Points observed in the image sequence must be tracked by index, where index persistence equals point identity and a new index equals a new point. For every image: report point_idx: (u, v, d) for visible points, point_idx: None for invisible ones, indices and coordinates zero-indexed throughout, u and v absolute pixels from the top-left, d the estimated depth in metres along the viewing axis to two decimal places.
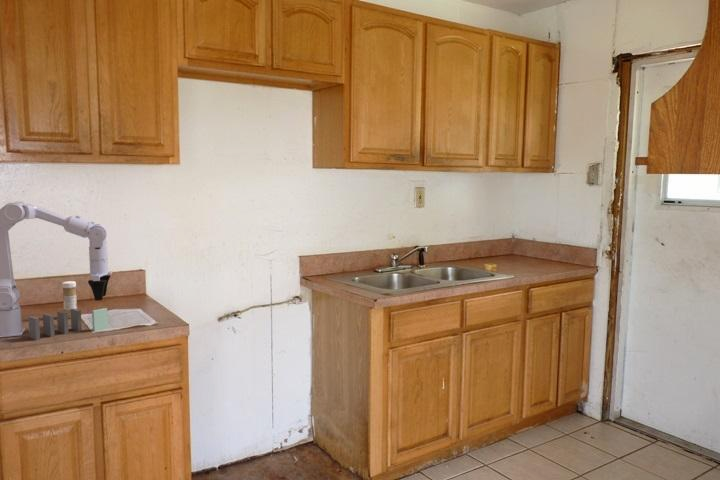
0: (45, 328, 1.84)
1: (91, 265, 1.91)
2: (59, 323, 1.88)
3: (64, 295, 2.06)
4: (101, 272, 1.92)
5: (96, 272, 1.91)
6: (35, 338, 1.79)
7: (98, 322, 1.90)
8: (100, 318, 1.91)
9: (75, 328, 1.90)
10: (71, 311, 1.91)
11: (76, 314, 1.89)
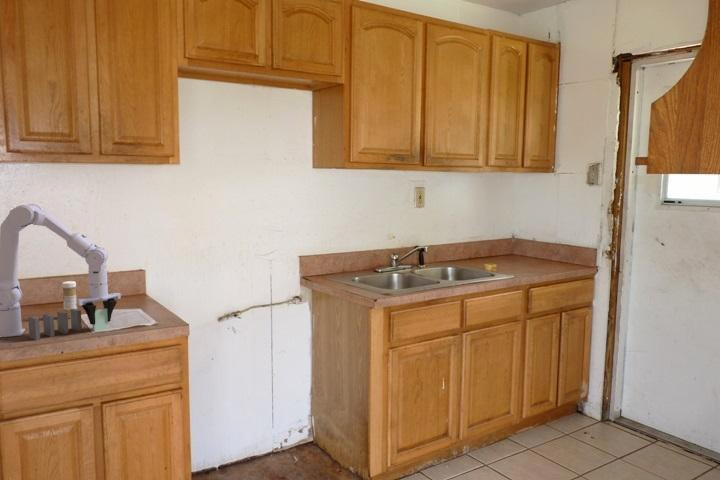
0: (45, 328, 1.84)
1: None
2: (59, 323, 1.88)
3: (64, 295, 2.06)
4: (93, 297, 1.88)
5: (90, 296, 1.88)
6: (35, 338, 1.79)
7: (98, 321, 1.90)
8: (100, 318, 1.91)
9: (75, 328, 1.90)
10: (71, 311, 1.91)
11: (76, 314, 1.89)
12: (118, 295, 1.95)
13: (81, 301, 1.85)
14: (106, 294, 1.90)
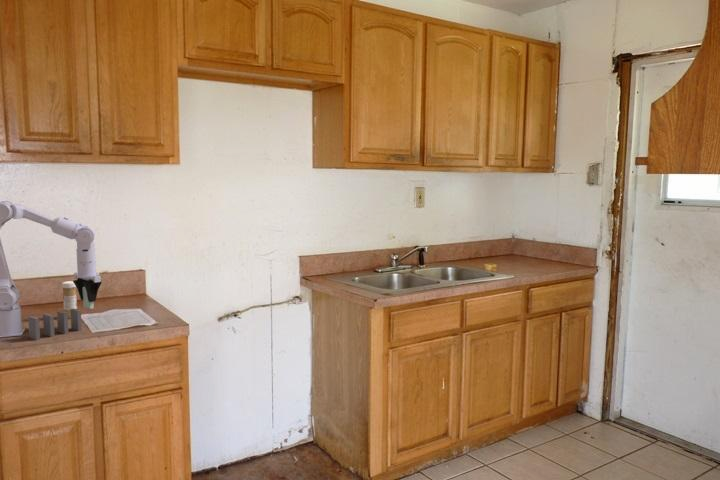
0: (45, 328, 1.84)
1: (83, 268, 1.90)
2: (59, 323, 1.88)
3: (64, 295, 2.06)
4: (93, 274, 1.92)
5: (89, 274, 1.91)
6: (35, 338, 1.79)
7: None
8: None
9: (75, 328, 1.90)
10: (71, 311, 1.91)
11: (76, 314, 1.89)
12: None
13: None
14: None
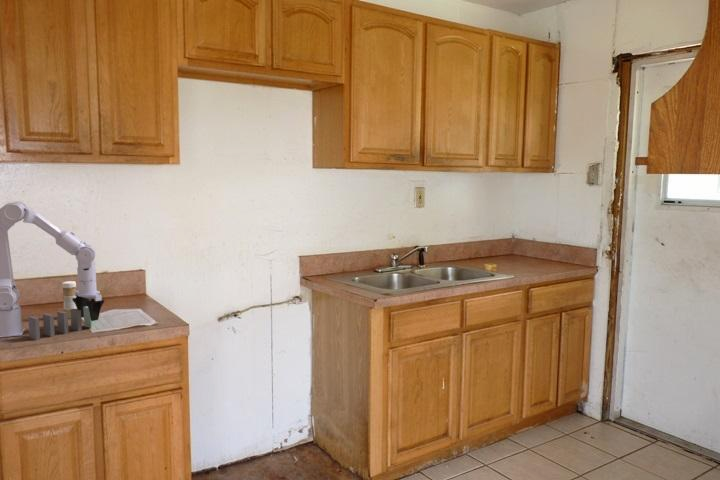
0: (45, 328, 1.84)
1: (84, 286, 1.91)
2: (59, 323, 1.88)
3: (64, 295, 2.06)
4: (94, 292, 1.93)
5: (90, 293, 1.92)
6: (35, 338, 1.79)
7: None
8: None
9: (75, 328, 1.90)
10: (71, 311, 1.91)
11: (76, 314, 1.89)
12: None
13: None
14: None
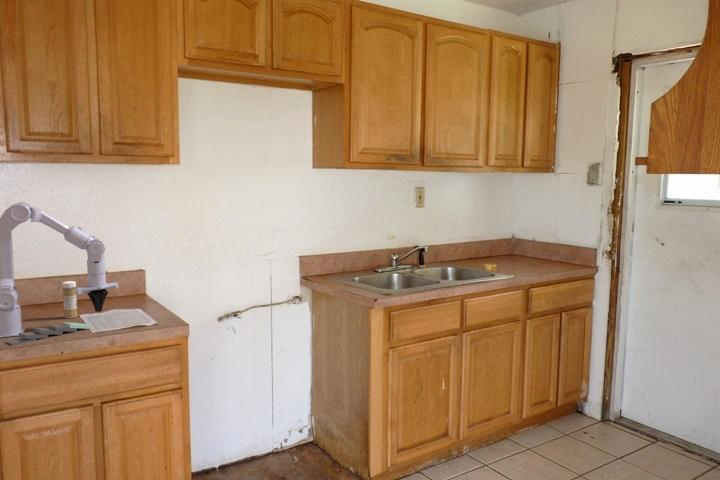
0: None
1: None
2: None
3: (64, 295, 2.06)
4: (91, 286, 1.94)
5: (88, 285, 1.94)
6: None
7: (79, 324, 1.91)
8: (75, 323, 1.91)
9: None
10: None
11: (58, 330, 1.85)
12: (116, 285, 2.01)
13: (80, 290, 1.91)
14: (104, 283, 1.96)
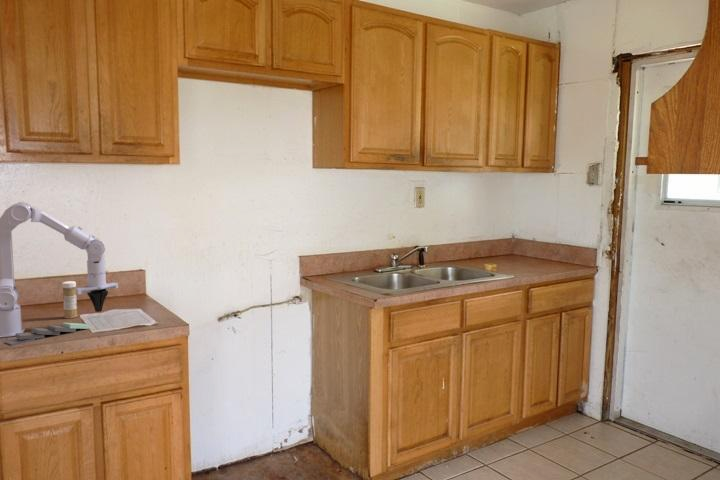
0: None
1: None
2: None
3: (64, 295, 2.06)
4: (91, 286, 1.94)
5: (88, 285, 1.94)
6: None
7: (79, 324, 1.91)
8: (75, 324, 1.90)
9: None
10: (50, 329, 1.85)
11: None
12: (116, 285, 2.01)
13: (80, 290, 1.91)
14: (104, 283, 1.96)
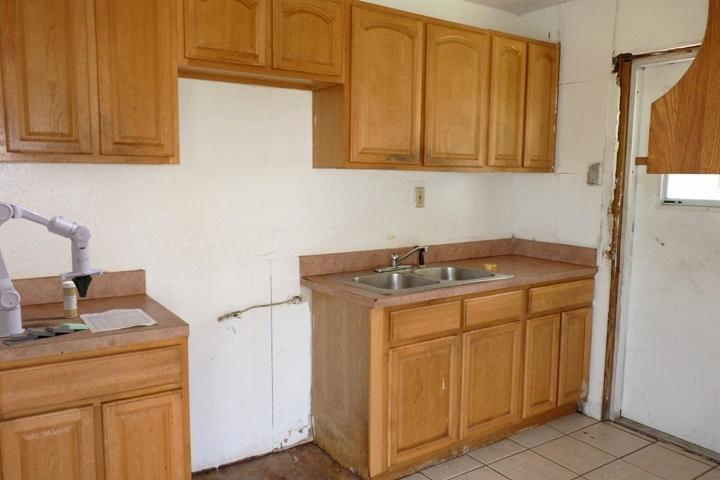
0: None
1: None
2: None
3: (64, 295, 2.06)
4: (75, 272, 1.96)
5: (72, 271, 1.97)
6: None
7: (78, 324, 1.91)
8: (74, 324, 1.90)
9: None
10: None
11: (55, 331, 1.83)
12: (100, 271, 2.03)
13: (64, 275, 1.93)
14: (88, 269, 1.98)
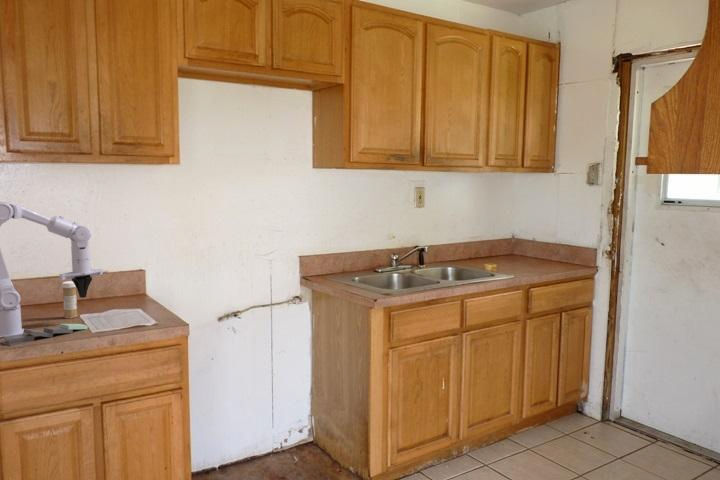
0: None
1: None
2: None
3: (64, 295, 2.06)
4: (75, 272, 1.96)
5: (72, 271, 1.97)
6: None
7: (77, 325, 1.90)
8: (73, 324, 1.90)
9: None
10: (47, 331, 1.84)
11: (55, 332, 1.83)
12: (100, 271, 2.03)
13: (64, 275, 1.93)
14: (88, 269, 1.98)
